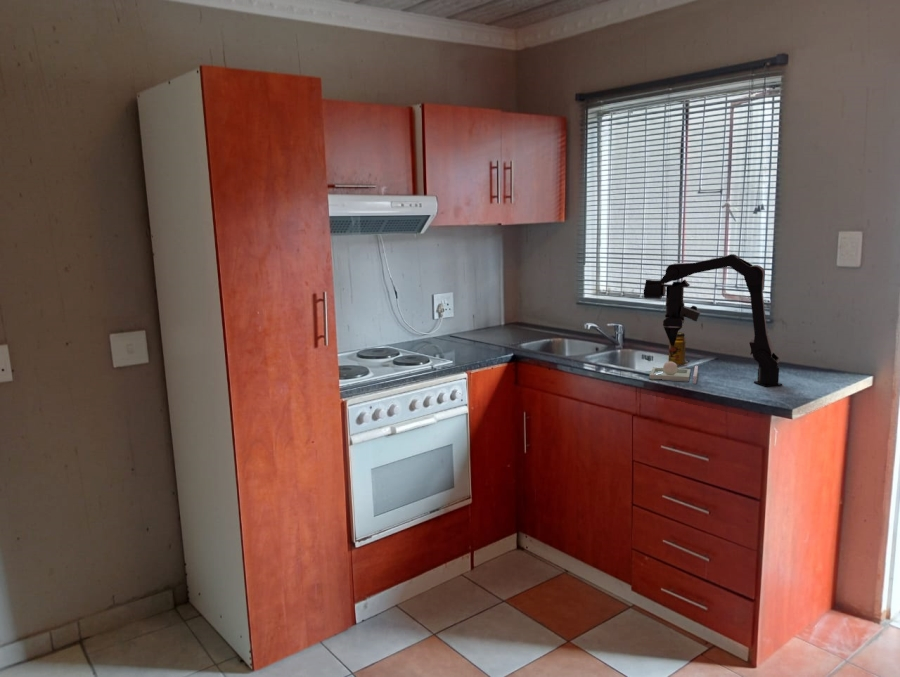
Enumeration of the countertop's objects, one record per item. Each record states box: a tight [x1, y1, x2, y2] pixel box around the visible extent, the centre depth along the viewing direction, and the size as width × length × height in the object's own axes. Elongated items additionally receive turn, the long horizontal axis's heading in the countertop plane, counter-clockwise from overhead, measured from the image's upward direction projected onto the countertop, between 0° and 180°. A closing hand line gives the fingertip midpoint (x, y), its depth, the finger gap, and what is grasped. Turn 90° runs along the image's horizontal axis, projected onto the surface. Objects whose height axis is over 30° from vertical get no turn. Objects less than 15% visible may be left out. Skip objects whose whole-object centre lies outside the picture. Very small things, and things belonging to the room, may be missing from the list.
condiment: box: [667, 331, 689, 367], centre depth 264 cm, size 7×8×12 cm
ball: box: [662, 360, 679, 375], centre depth 243 cm, size 5×5×5 cm
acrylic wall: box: [692, 365, 699, 384], centre depth 240 cm, size 18×1×2 cm, turn 159°
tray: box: [649, 367, 691, 382], centre depth 243 cm, size 13×13×2 cm
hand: (673, 343), depth 242 cm, fingers open, 9 cm apart
